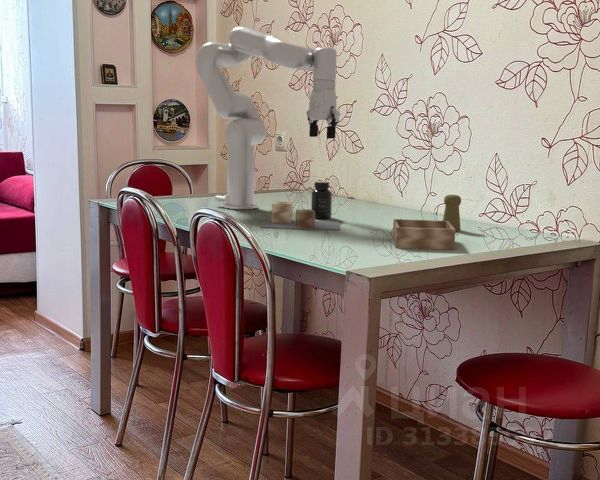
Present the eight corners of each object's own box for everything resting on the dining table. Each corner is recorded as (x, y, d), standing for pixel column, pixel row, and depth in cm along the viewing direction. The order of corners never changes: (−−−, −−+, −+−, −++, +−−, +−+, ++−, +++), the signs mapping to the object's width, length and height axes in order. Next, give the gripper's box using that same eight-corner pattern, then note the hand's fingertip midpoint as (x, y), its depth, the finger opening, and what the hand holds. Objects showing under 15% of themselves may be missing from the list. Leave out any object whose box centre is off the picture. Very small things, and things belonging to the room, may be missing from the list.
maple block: (271, 222, 245) (271, 203, 244) (273, 219, 251) (273, 201, 250) (290, 223, 245) (290, 204, 244) (292, 220, 251) (292, 202, 250)
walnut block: (298, 228, 236) (299, 211, 235) (295, 225, 241) (296, 209, 240) (314, 228, 237) (315, 211, 236) (311, 225, 242) (311, 209, 241)
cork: (461, 229, 243) (464, 194, 241) (459, 232, 237) (461, 196, 235) (442, 228, 245) (444, 193, 243) (439, 230, 239) (441, 195, 237)
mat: (260, 227, 237) (260, 226, 237) (266, 220, 253) (266, 219, 253) (339, 230, 235) (339, 229, 235) (340, 222, 251) (340, 221, 251)
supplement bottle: (334, 217, 262) (335, 182, 260) (326, 220, 256) (327, 183, 254) (315, 215, 265) (316, 180, 263) (307, 218, 259) (308, 182, 257)
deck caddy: (395, 247, 209) (396, 227, 208) (392, 237, 224) (393, 219, 223) (454, 249, 208) (455, 229, 207) (447, 239, 223) (448, 220, 222)
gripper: (299, 85, 264) (298, 136, 267) (330, 85, 250) (328, 139, 253) (317, 86, 268) (315, 136, 271) (349, 86, 254) (346, 139, 257)
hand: (322, 137), depth 262 cm, fingers open, 9 cm apart
